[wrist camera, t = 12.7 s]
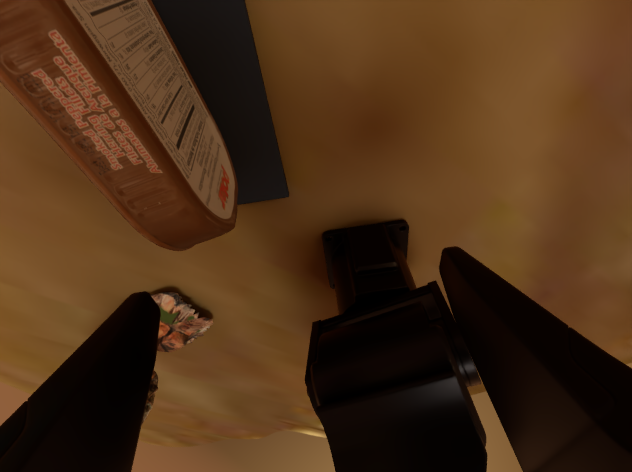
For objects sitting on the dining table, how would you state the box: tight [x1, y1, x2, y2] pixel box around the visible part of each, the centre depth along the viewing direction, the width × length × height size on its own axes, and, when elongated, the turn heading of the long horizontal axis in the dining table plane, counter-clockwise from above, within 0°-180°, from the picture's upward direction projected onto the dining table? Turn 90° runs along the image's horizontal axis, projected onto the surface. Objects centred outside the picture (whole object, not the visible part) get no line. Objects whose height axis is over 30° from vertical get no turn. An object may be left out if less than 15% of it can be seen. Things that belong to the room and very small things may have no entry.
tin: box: [0, 0, 238, 251], centre depth 13 cm, size 15×3×8 cm, turn 17°
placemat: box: [151, 0, 289, 205], centre depth 16 cm, size 20×10×1 cm, turn 7°
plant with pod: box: [141, 292, 213, 425], centre depth 23 cm, size 8×11×20 cm
